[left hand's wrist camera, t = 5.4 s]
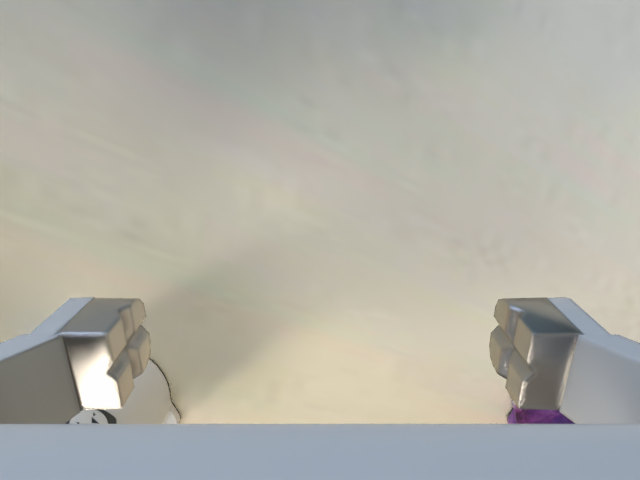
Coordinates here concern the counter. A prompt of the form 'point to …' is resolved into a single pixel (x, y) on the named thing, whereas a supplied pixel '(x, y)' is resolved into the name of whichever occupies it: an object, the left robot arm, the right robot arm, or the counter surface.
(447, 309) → the counter surface
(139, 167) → the counter surface
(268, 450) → the left robot arm
